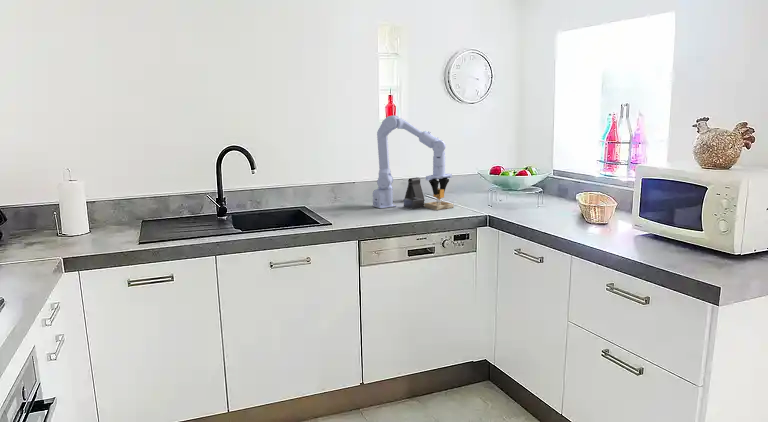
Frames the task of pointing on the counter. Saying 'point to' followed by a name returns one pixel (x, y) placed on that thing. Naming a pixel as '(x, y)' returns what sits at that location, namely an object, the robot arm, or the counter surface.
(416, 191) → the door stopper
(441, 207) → the key tray
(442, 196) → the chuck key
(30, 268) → the counter surface
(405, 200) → the chuck block
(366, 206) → the counter surface
